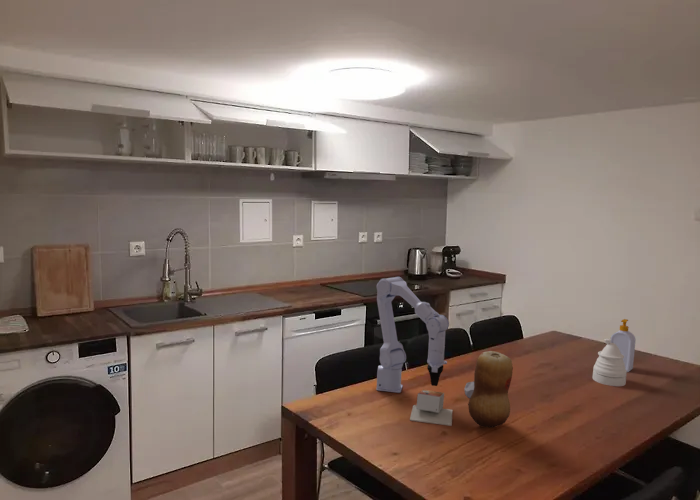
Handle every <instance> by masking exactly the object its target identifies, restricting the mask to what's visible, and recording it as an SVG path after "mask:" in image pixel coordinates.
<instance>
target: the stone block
mask: <svg viewBox="0 0 700 500" xmlns="http://www.w3.org/2000/svg"><path fill="white" fill-rule="evenodd" d="M465 383H466V384H465V386H464V394H465V396H466V397H467V398H468V399H470V397H471V395H472V393H473V391H474V380H473V381H469V382H465Z"/></svg>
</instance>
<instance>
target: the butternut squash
mask: <svg viewBox="0 0 700 500" xmlns="http://www.w3.org/2000/svg"><path fill="white" fill-rule="evenodd" d="M476 359H477V360H476V363H475V368H474V374H473V375H474V376H473V381H474V391H473V393H472V395H471V397H470V398H469V399H468V400H469V401H468V403H467V406H468V413H469V416H470V417H471V419H472V420H473V421H474V423H475V424H476V425H478V426H480V427H484V428H496V427H499V426H502V425H503V424H505V423H506V422H507V420H508V418H509V416H510V414H511V403H510V399H509V390H510V386H511V382H512V378H513V369H514V367H513V366H514V365H513V361H512V358H510V357H509V356H507V355H505V354H504V353H501V352H498V351H494V350H489V351H483V352H481V354H479V356H478V358H476Z"/></svg>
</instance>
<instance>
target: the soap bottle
mask: <svg viewBox="0 0 700 500" xmlns="http://www.w3.org/2000/svg"><path fill="white" fill-rule="evenodd" d="M628 321H629V319H626V318H624V319H621V320H620V322H621V323H622V324H621V325H619V330H618V331H616V332H614V333H612V334H611V336H610V338H609V339H611V342H610V343H614V344H616V345H617V347H618V348H619V350H620V352H621V354H622V355H623V356H624V358H623V361H624V363H625V369H626V371H627V373H629V372H630V371H631V370H633V369H634V362H635V361H634V359H635V349H636V336H635V335H634V334H633V332H631V331H629V328H630V327H629V325H628V326H627V322H628Z"/></svg>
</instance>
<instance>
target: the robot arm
mask: <svg viewBox="0 0 700 500" xmlns="http://www.w3.org/2000/svg"><path fill="white" fill-rule="evenodd" d="M376 292H377V294H376V303H377V309H378V315H379V322H380V328H381V333H382V340H383V344H382V346H381V347H379V363H380V365H378V366H377V372H376V389H375V390H376V391H381V392H389V393H397V394H400V393H401V392H402V389H403V386H404V385H403V384H402V370H403V369H402V368H403V366H404V363H405V362H406V360H407V353H406V351H405V350H404V346H403V344H402V343H401V342H399V341H398V335H397V328H396V323H395V317H394V311H393V304H392V302H393V300H394V299H395V298H396V296H400V297H401V298H403V300H404V301H406V302H407V303H408V304H409V305H410V306H411V307H413V308H414V314H415V315H417V317H418V318H420V320H421V321H422V322H423V323H425V326H426V330H427V332H428V348H427V349H428V351H427V360H426V362H427V364H428V365H427V368H426V369H427V371H428V373H429V377H430V378H429V379H430V385H431V386H433V387H438V385H439V382H440V376H441V374H442V372H443V371H444V365H448V364H447V363H448V361H447V360H445V347H446V346H445V345H446V331H447V330H448V329H449V328H450V322H449V319H448V318H447V317H446V315H443V314H439V312H438V311H436V310H435V309H434V308H433V307H432V306H431V304H430V303H429V302H426V301H421V300H420V299H419V298H418V297H417V295H416V294H415V293H414V292H413V291H412V290H411V288H409V287H408V284H407V281H405V280H404V279H403V278H402V277H400V276H395V277H394V276H393V277H388V278H380V280H379V281H378V282H377V284H376Z"/></svg>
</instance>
